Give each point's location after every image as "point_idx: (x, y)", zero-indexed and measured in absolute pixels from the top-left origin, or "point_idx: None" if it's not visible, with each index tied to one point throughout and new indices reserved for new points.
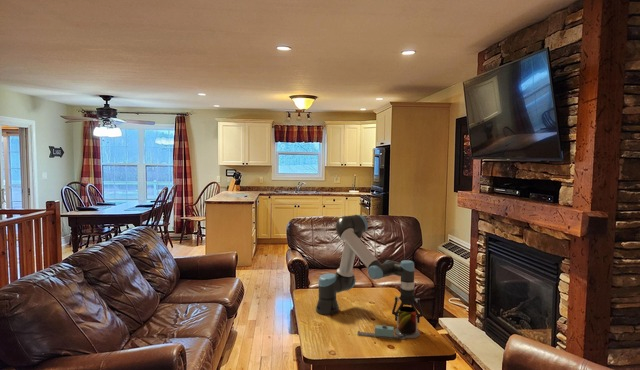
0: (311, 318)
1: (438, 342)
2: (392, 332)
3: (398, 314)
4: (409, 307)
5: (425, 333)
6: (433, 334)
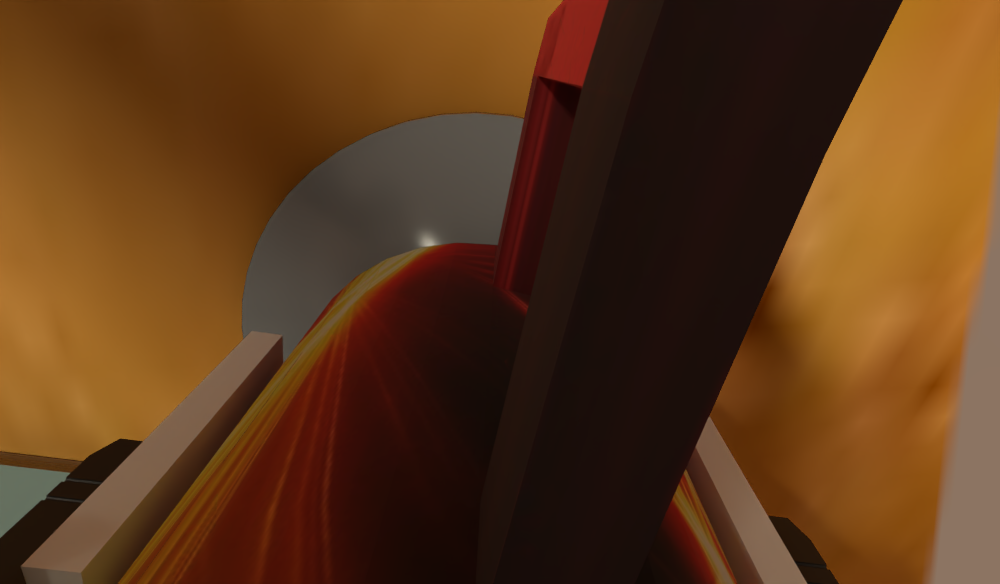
0: None
1: (863, 580)
2: None
3: (75, 577)
4: None
5: (805, 339)
6: (931, 366)
